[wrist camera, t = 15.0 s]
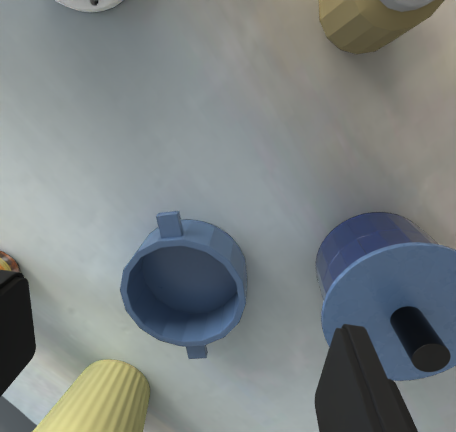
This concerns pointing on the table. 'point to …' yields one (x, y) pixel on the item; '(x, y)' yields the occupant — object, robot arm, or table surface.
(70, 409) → the potted cactus
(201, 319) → the pan
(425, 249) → the lid
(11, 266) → the sauce bottle
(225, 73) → the table surface
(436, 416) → the table surface
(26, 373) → the table surface
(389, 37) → the squeeze bottle
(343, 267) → the pot
